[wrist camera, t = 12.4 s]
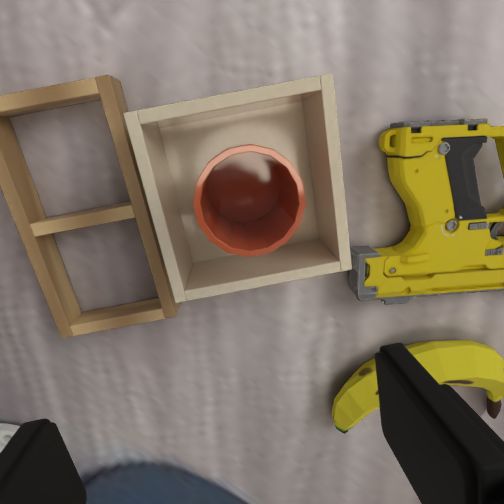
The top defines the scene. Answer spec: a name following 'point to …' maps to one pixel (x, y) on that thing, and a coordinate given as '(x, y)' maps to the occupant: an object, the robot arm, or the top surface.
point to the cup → (249, 200)
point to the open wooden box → (231, 134)
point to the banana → (441, 369)
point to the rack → (41, 228)
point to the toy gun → (435, 216)
